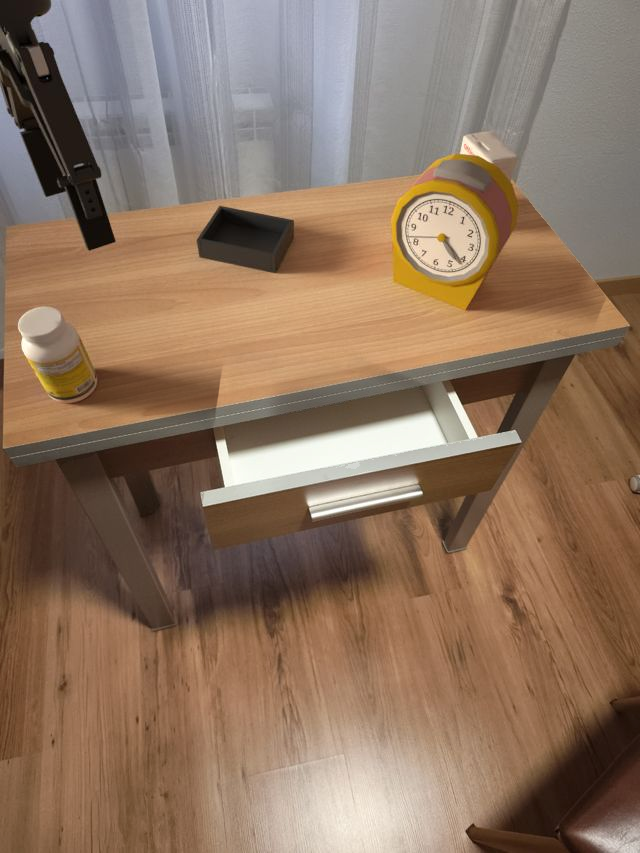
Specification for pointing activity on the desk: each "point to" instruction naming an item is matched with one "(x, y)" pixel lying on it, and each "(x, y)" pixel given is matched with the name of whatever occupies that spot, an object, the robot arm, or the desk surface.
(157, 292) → the desk surface
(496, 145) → the ink box
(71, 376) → the pill bottle
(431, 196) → the alarm clock
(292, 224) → the bin
